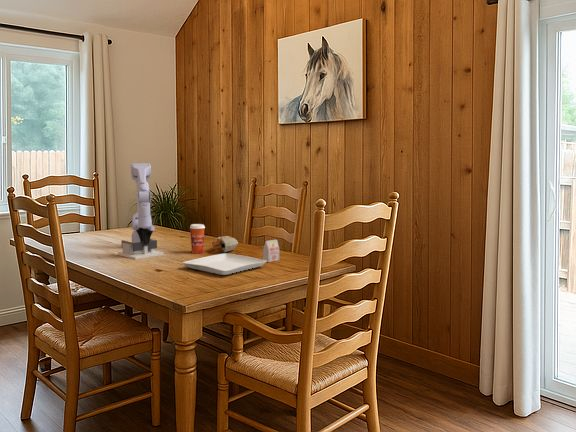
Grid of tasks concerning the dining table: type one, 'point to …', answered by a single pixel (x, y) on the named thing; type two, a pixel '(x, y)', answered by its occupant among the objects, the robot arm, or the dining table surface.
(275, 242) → the milk carton
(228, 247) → the nautilus
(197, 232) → the paper cup
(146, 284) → the dining table surface
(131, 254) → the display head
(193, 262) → the square plate
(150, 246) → the glasses
